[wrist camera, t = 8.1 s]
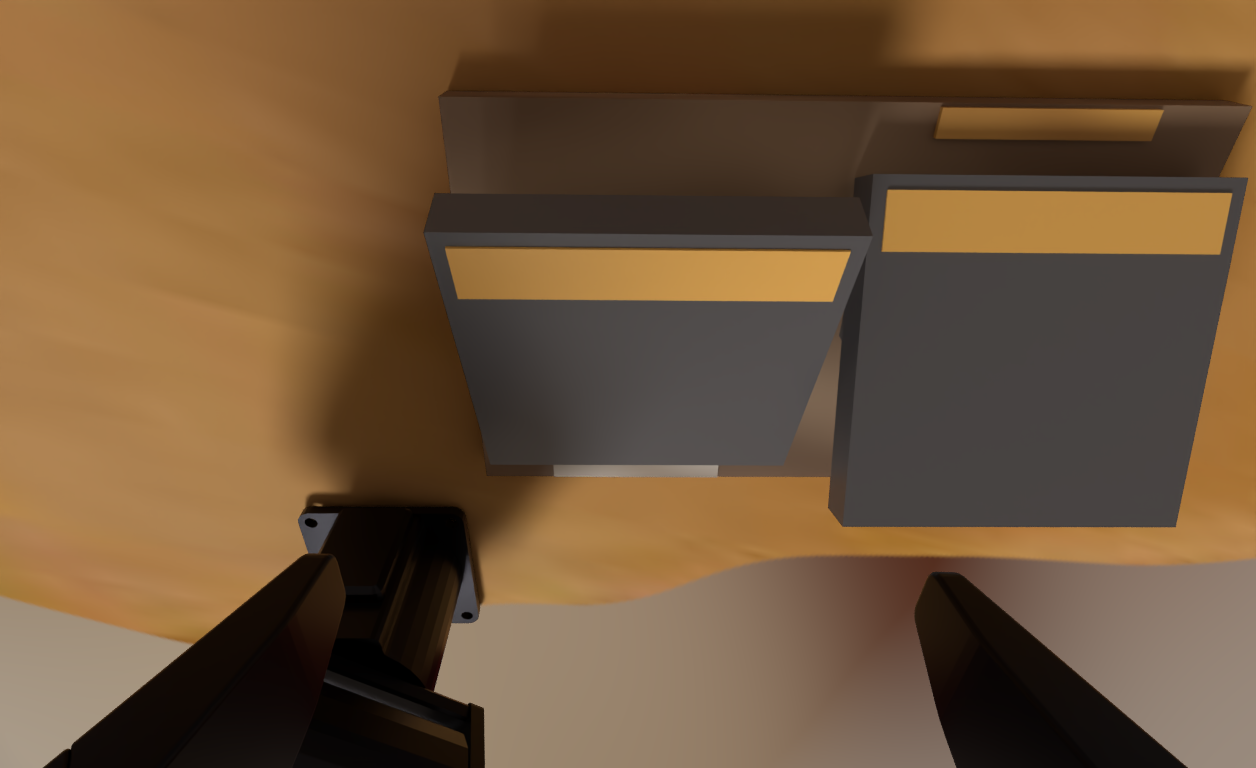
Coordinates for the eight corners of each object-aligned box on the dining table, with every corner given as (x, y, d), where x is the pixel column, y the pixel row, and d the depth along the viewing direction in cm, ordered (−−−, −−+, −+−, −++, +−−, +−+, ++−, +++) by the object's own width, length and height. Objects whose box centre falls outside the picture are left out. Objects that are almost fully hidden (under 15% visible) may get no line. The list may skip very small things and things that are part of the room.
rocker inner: (777, 431, 24) (783, 467, 23) (495, 430, 23) (490, 466, 23) (859, 197, 16) (873, 238, 15) (434, 192, 16) (422, 234, 15)
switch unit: (1060, 460, 26) (1095, 499, 24) (491, 458, 25) (481, 497, 24) (1223, 100, 19) (1290, 114, 17) (446, 90, 19) (427, 104, 17)
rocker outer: (1139, 507, 21) (1177, 528, 20) (828, 507, 21) (843, 527, 20) (1202, 181, 19) (1250, 177, 18) (854, 178, 19) (874, 173, 17)
